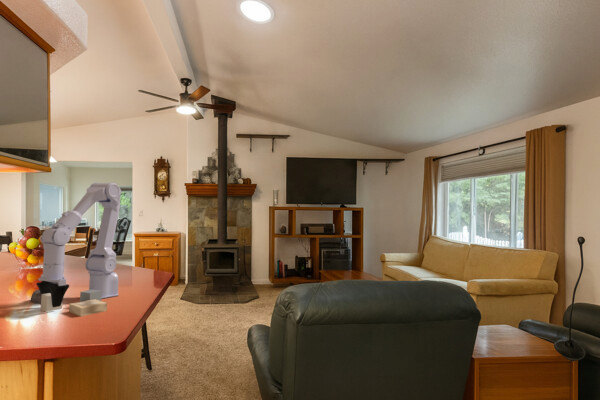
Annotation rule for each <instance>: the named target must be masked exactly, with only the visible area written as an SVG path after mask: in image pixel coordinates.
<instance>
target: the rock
mask: <svg viewBox="0 0 600 400" xmlns="http://www.w3.org/2000/svg"><path fill="white" fill-rule="evenodd" d="M30 302H31V303H35V304H41V293H40V290H39V289H36V290H35V291H33V292H32V295H31V296H30Z"/></svg>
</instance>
